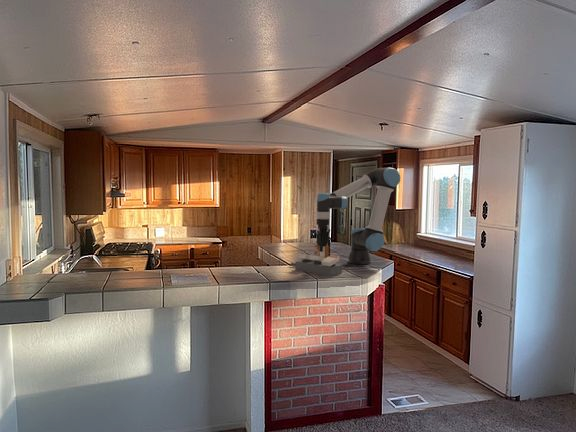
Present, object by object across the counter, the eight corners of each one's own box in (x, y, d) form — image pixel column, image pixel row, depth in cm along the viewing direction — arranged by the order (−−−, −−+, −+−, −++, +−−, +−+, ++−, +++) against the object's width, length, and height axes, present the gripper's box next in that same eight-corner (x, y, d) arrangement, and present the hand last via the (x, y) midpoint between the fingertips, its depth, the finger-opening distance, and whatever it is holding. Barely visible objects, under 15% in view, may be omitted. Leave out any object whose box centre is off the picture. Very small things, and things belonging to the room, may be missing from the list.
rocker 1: (307, 259, 281) (308, 254, 282) (315, 260, 277) (315, 255, 278) (297, 257, 274) (298, 252, 274) (305, 258, 270) (306, 254, 270)
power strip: (296, 265, 289) (296, 255, 288) (341, 273, 266) (342, 263, 265) (285, 267, 280) (285, 258, 280) (331, 276, 258) (331, 266, 257)
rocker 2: (318, 261, 275) (319, 256, 276) (326, 262, 272) (327, 258, 272) (309, 258, 268) (310, 254, 268) (317, 260, 264) (318, 255, 264)
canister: (312, 264, 291) (312, 234, 289) (326, 263, 296) (327, 233, 294) (318, 267, 283) (319, 235, 281) (333, 265, 288) (334, 235, 286)
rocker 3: (331, 258, 270) (330, 254, 269) (339, 260, 266) (339, 255, 265) (321, 265, 263) (321, 260, 262) (330, 266, 259) (329, 262, 258)
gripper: (324, 217, 278) (323, 254, 280) (311, 218, 268) (310, 257, 270) (334, 218, 273) (333, 256, 275) (321, 219, 263) (320, 258, 265)
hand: (322, 256), depth 273 cm, fingers closed
